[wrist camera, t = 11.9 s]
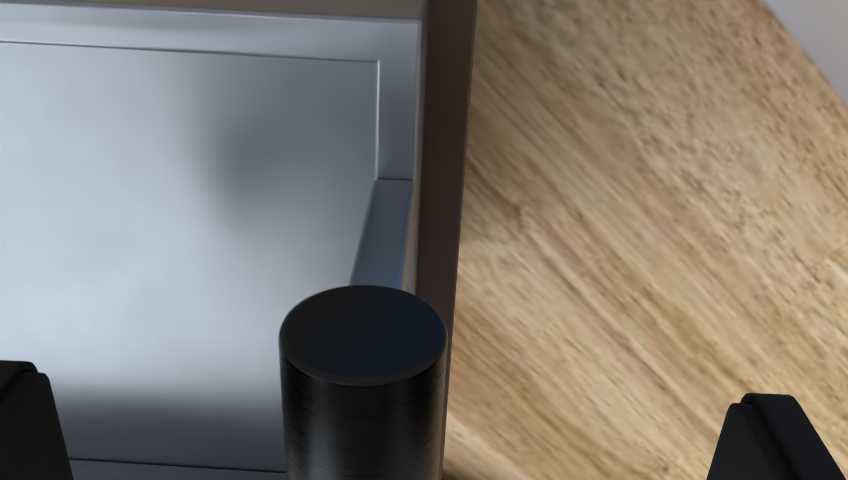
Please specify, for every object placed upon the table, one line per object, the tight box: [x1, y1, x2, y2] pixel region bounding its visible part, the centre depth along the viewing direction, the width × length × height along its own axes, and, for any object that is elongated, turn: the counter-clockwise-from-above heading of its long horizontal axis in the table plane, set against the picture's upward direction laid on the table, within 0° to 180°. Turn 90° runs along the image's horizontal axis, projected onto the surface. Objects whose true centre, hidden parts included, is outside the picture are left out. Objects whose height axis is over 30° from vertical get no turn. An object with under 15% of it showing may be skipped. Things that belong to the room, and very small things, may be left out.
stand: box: [416, 0, 477, 480], centre depth 20 cm, size 12×12×11 cm
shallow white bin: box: [0, 0, 448, 480], centre depth 12 cm, size 12×11×8 cm
